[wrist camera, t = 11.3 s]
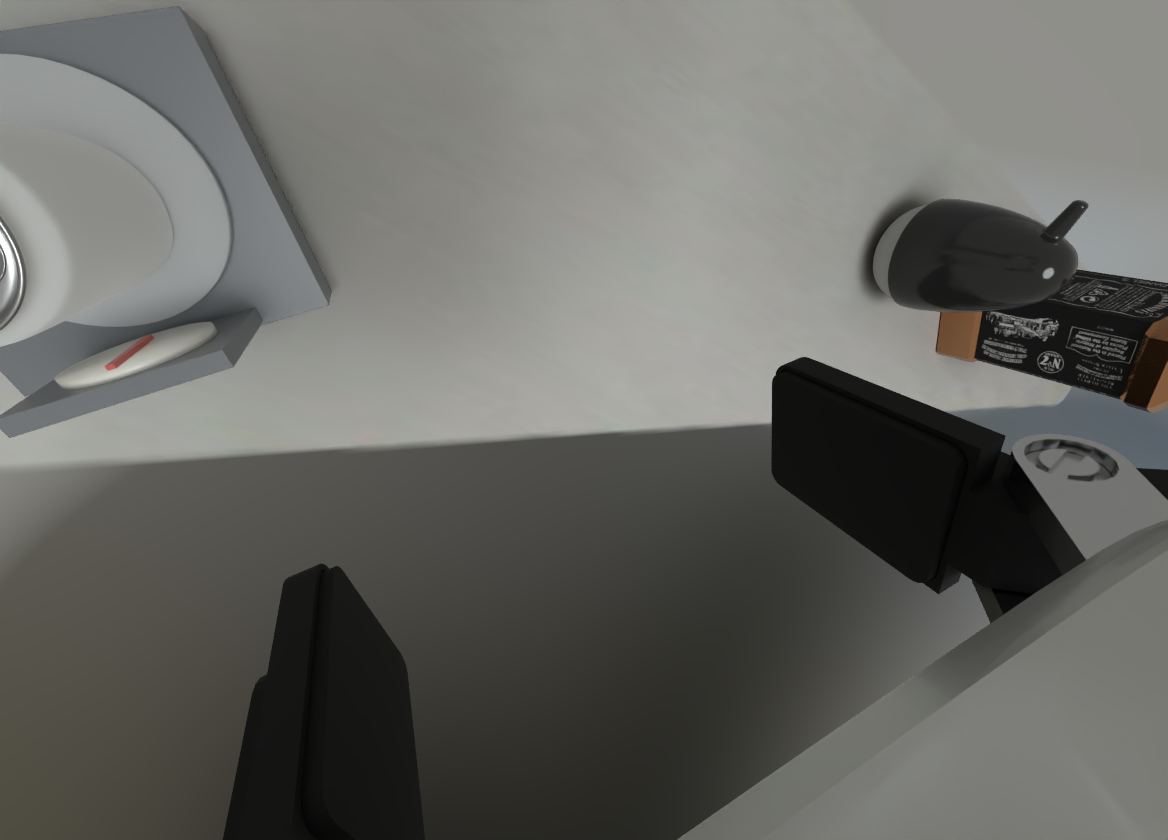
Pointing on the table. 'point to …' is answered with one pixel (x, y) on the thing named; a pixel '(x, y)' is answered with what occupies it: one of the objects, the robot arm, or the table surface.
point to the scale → (191, 197)
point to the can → (70, 229)
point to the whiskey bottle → (1077, 338)
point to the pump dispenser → (974, 257)
